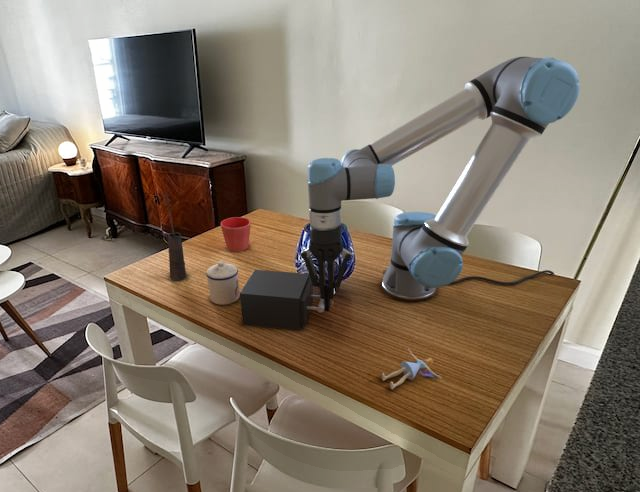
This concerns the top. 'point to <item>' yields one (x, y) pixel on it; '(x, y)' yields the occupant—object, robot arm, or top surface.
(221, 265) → the teacup with lid
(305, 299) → the open drawer
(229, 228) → the flower pot
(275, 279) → the dark grey box
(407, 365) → the fairy figurine
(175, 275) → the butter churn
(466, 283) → the top surface
